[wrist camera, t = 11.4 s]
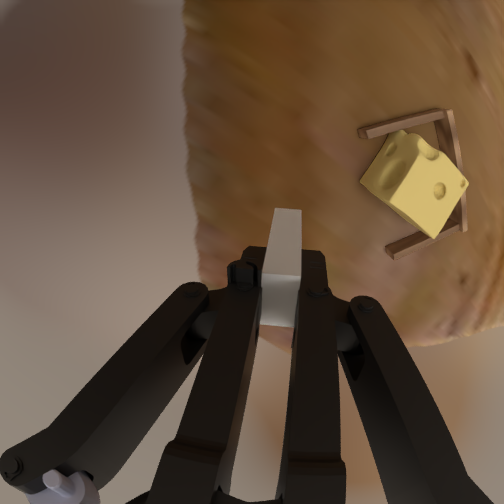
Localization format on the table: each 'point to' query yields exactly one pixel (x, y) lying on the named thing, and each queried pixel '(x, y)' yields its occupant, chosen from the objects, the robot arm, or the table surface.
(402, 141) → the cheese
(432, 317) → the table surface
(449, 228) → the brown wooden u frame
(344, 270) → the table surface
